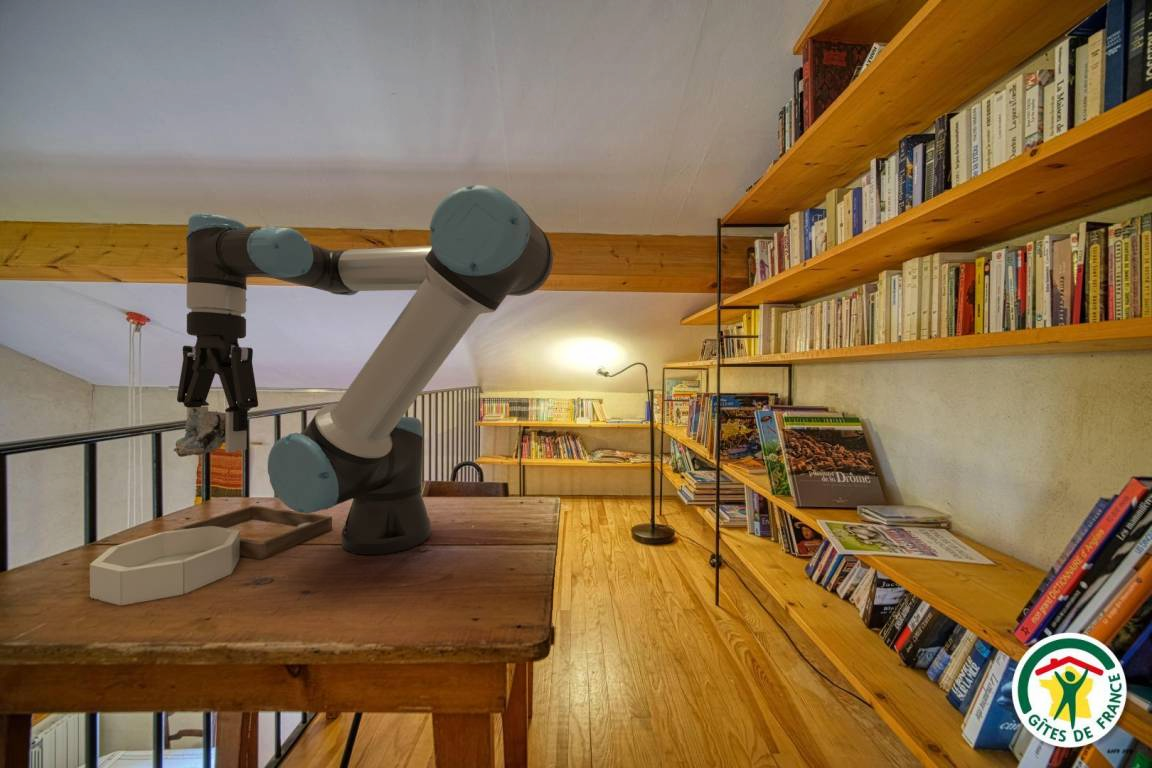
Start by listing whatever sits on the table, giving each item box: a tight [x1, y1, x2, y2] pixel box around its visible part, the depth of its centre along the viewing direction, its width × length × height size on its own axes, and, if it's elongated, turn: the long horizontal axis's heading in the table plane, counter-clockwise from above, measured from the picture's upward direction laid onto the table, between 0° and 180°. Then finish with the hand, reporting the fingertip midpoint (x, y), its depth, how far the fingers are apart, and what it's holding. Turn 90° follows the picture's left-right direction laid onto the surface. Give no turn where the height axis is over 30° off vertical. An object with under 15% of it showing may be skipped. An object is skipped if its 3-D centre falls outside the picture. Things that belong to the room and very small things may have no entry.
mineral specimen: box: [173, 408, 248, 458], centre depth 70 cm, size 10×8×10 cm
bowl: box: [89, 526, 241, 606], centre depth 63 cm, size 15×15×4 cm
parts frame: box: [173, 504, 333, 560], centre depth 78 cm, size 20×14×2 cm
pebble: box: [296, 522, 313, 529], centre depth 81 cm, size 3×3×2 cm
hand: (216, 447), depth 71 cm, fingers closed on mineral specimen, 9 cm apart
